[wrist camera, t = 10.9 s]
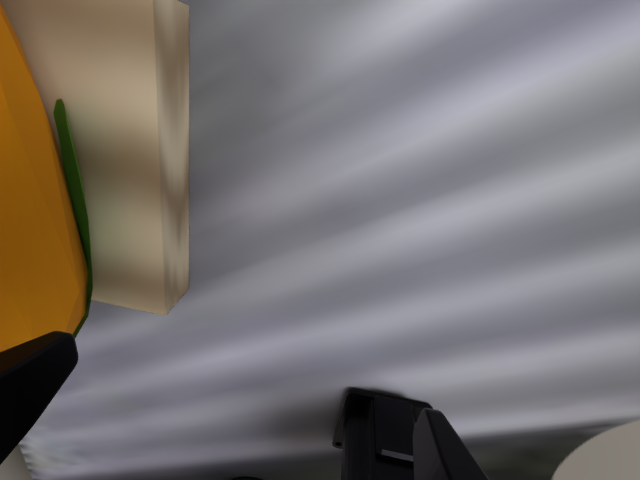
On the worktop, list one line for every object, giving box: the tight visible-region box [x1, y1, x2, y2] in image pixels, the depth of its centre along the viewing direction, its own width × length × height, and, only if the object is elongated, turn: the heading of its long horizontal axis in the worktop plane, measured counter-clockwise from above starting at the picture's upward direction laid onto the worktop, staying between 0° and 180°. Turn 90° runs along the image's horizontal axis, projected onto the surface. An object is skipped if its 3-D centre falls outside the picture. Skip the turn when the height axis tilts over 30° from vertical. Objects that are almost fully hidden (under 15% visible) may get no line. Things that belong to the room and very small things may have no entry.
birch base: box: [0, 0, 189, 316], centre depth 17 cm, size 16×12×3 cm
